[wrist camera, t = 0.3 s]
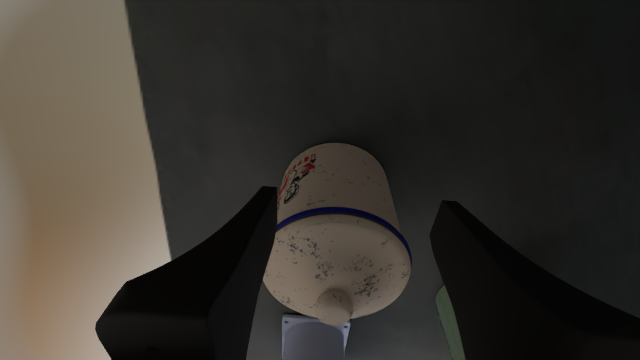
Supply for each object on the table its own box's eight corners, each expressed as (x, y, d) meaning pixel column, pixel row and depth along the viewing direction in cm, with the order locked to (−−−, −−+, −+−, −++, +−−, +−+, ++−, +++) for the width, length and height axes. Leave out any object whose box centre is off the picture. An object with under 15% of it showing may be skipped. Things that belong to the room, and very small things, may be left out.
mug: (502, 324, 35) (539, 399, 28) (425, 318, 35) (445, 392, 28) (557, 247, 28) (622, 324, 22) (460, 240, 28) (497, 314, 22)
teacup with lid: (295, 122, 22) (263, 233, 12) (409, 156, 23) (461, 282, 14) (264, 235, 29) (227, 366, 19) (354, 258, 30) (363, 392, 20)
